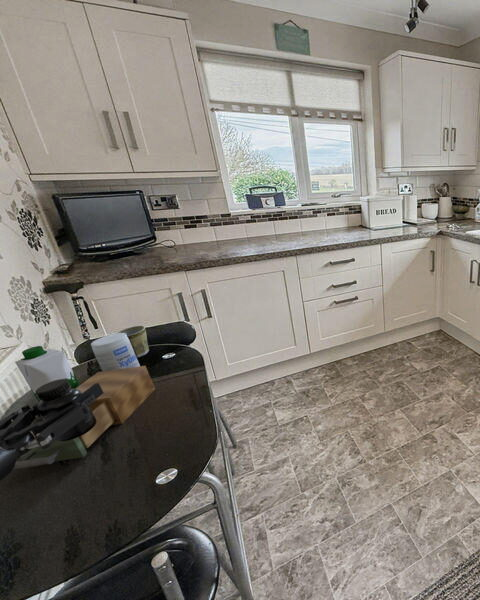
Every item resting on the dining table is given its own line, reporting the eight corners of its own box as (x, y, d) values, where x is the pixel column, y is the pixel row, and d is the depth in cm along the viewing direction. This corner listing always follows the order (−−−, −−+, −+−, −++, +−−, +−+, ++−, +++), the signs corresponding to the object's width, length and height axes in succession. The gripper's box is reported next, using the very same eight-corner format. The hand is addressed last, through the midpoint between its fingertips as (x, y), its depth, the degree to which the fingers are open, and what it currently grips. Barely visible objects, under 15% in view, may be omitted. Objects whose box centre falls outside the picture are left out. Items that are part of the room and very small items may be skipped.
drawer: (68, 472, 73) (54, 448, 71) (7, 481, 72) (-9, 458, 70) (124, 415, 91) (114, 395, 89) (76, 422, 90) (64, 402, 88)
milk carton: (77, 396, 104) (47, 341, 97) (94, 401, 101) (64, 344, 93) (41, 415, 96) (6, 356, 89) (58, 420, 93) (23, 360, 86)
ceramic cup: (158, 350, 130) (149, 328, 126) (128, 363, 122) (118, 339, 118) (144, 344, 136) (135, 322, 133) (115, 355, 129) (105, 333, 125)
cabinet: (122, 423, 89) (109, 397, 86) (68, 431, 88) (52, 405, 85) (155, 389, 104) (145, 365, 101) (109, 395, 103) (97, 371, 100)
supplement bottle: (83, 418, 75) (60, 374, 71) (105, 421, 74) (82, 376, 69) (47, 440, 69) (19, 393, 65) (70, 444, 67) (42, 397, 63)
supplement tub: (133, 381, 109) (115, 343, 104) (101, 387, 108) (81, 348, 102) (147, 366, 118) (132, 330, 113) (118, 371, 117) (101, 335, 111)
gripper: (-87, 503, 53) (43, 409, 74) (41, 485, 54) (133, 398, 76) (-117, 469, 50) (27, 381, 72) (18, 451, 51) (121, 370, 73)
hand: (82, 390), depth 74 cm, fingers closed on supplement bottle, 7 cm apart
